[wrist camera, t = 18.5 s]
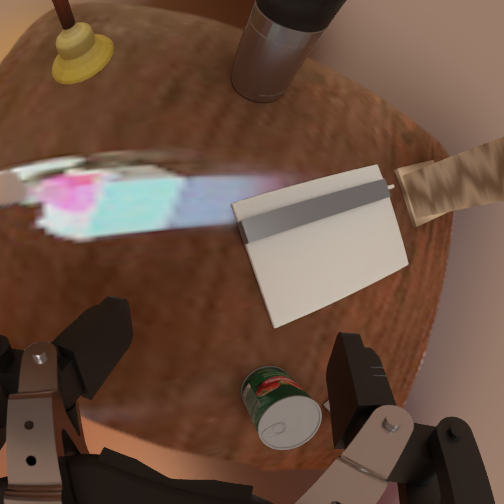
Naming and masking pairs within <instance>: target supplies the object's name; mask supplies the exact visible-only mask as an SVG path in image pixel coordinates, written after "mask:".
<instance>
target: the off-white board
mask: <svg viewBox="0 0 504 504" xmlns="http://www.w3.org/2000/svg"><path fill="white" fill-rule="evenodd" d="M381 179H383V178H382V175H381V173H380V170H379V167H378V165H373V166H368V167H364V168H360V169H356V170H352V171H347V172H343V173H339V174H335V175H331V176H328V177H324V178H320V179H316V180H312V181H308V182H305V183H301V184H297V185H294V186H290V187H286V188H283V189H279V190H276V191H272V192H269V193H265V194H262V195H258V196H255V197H252V198H248V199H245V200H241V201H238V202H235V203H232V204H231V206H232V209H233V212H234V215H235V218H236V221H237V223H238V222H239V221H240V220H243V219H246V218H249V217H252V216H255V215H259V214H262V213H265V212H269V211H272V210H275V209H278V208H282V207H285V206H289V205H292V204H295V203H299V202H302V201H305V200H309V199H312V198H316V197H319V196H323V195H326V194H330V193H333V192H337V191H341V190H344V189H348V188H351V187H355V186H359V185H362V184H366V183H370V182H374V181H377V180H381ZM245 247H246V250H247V253H248V256H249V259H250V262H251V265H252V268H253V271H254V274H255V277H256V279H257V282H258V285H259V288H260V291H261V294H262V297H263V300H264V303H265V306H266V309H267V311H268V314H269V317H270V320H271V323H272V326H273V327H274V328H277V327H279V326H282V325H284V324H286V323H289V322H291V321H293V320H296V319H298V318H300V317H303V316H305V315H307V314H309V313H312V312H314V311H316V310H318V309H320V308H323V307H325V306H327V305H329V304H331V303H333V302H336V301H338V300H340V299H342V298H344V297H346V296H348V295H350V294H352V293H354V292H356V291H358V290H360V289H362V288H364V287H366V286H368V285H370V284H372V283H374V282H376V281H378V280H380V279H382V278H384V277H386V276H388V275H390V274H392V273H394V272H395V271H397V270H399V269H401V268H403V267H405V266H407V265H408V260H407V256H406V252H405V249H404V245H403V241H402V237H401V234H400V230H399V227H398V224H397V220H396V217H395V214H394V211H393V207H392V204H391V201H390V198H389V197H388V198H385V199H382V200H379V201H376V202H373V203H370V204H367V205H363V206H360V207H357V208H354V209H351V210H348V211H345V212H342V213H339V214H336V215H333V216H330V217H327V218H323V219H320V220H317V221H314V222H311V223H308V224H305V225H302V226H299V227H296V228H293V229H290V230H287V231H284V232H281V233H278V234H275V235H272V236H269V237H266V238H263V239H260V240H257V241H254V242H251V243H248V244H245Z"/></svg>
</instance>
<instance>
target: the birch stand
mask: <svg viewBox="0 0 504 504" xmlns="http://www.w3.org/2000/svg"><path fill="white" fill-rule="evenodd" d="M394 171H395V174H396V177H397V179H398V182H399V185H400V188H401V191H402V194H403V197H404V200H405V203H406V206H407V209H408V213H409V216H410V219H411V223H412V226H413V227H417V226H420V225H422V224H424V223H426V222H428V221H430V220H432V219H435V218H437V217H439V216H441V215H443V214H445V213H447V212H449V211H454V210H459V209H464V208H469V207H474V206H479V205H484V204H489V203H494V202H499V201H504V137H502V138H499V139H496V140H494V141H491V142H488V143H485V144H483V145H480V146H478V147H475V148H472V149H470V150H467V151H465V152H462V153H460V154H457V155H454V156H451V157H449V158H446V159H444V160H441V161H439V162H436V163H434V160H431V161H427V162H422V163H418V164H414V165H409V166H405V167H401V168H397V169H395V170H394Z"/></svg>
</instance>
